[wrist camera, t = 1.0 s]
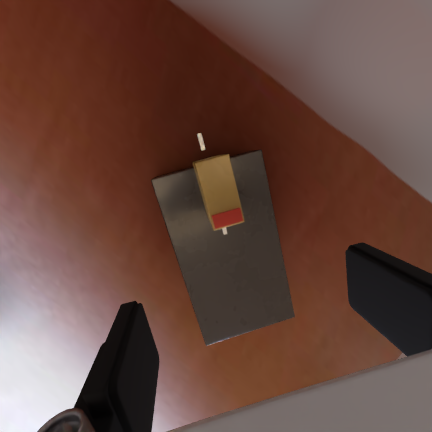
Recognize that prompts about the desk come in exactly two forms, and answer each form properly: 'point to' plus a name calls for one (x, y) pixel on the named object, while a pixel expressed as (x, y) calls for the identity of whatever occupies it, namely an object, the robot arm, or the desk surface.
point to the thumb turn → (219, 191)
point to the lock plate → (228, 251)
